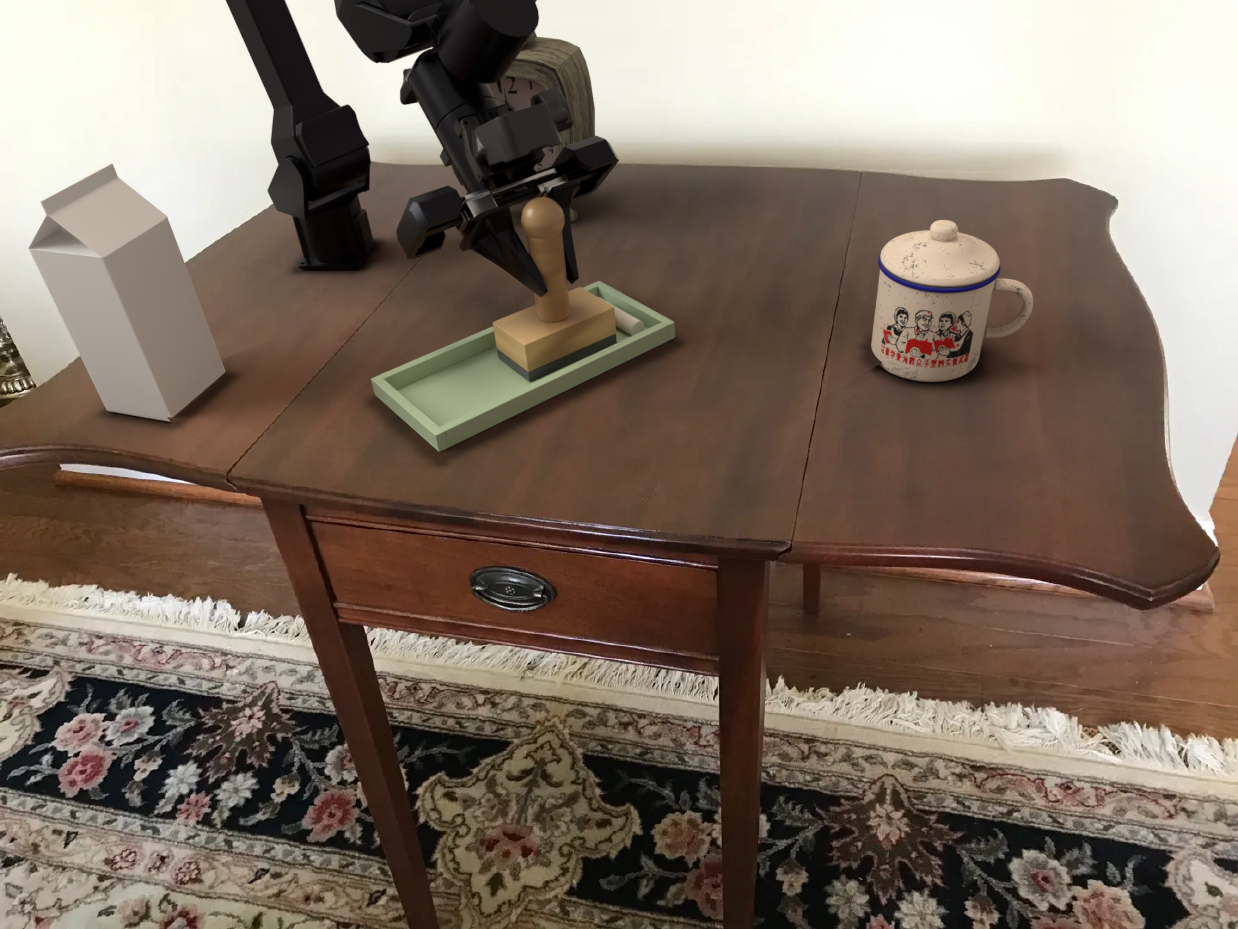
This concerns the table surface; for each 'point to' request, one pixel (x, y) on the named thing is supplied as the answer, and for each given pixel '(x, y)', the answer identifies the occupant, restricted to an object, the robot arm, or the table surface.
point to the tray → (499, 377)
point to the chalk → (627, 321)
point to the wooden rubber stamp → (552, 306)
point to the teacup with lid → (938, 303)
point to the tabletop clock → (543, 70)
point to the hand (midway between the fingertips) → (559, 288)
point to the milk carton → (125, 296)
